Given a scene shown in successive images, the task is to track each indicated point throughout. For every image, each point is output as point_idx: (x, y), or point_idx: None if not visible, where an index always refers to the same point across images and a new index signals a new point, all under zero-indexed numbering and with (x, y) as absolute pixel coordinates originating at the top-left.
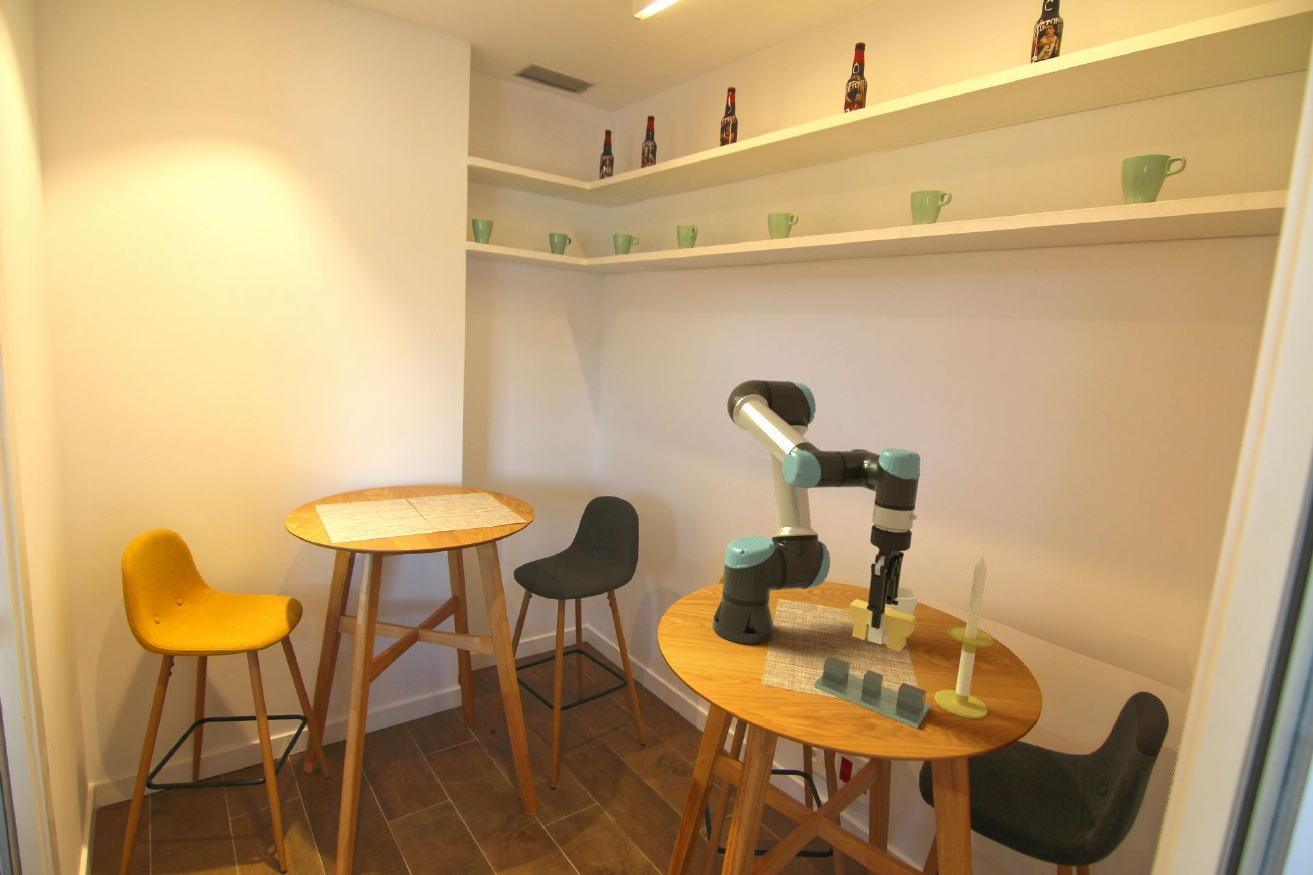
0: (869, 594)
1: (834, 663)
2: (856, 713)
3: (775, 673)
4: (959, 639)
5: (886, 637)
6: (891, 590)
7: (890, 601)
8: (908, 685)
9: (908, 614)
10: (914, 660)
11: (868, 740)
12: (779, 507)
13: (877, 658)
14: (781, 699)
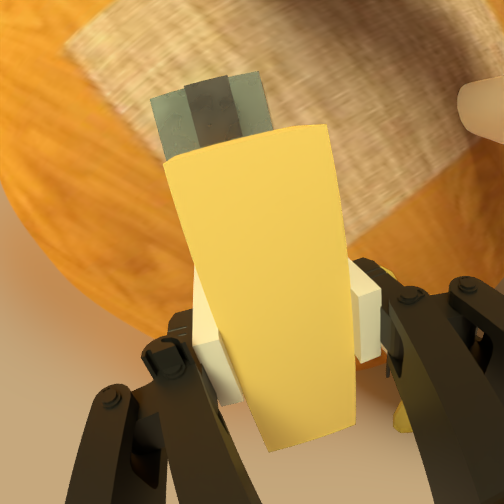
0: (69, 489)
1: (196, 112)
2: (149, 223)
3: (123, 19)
4: (398, 409)
5: (467, 107)
6: (414, 424)
7: (393, 352)
8: None
9: (354, 407)
10: (446, 175)
11: (102, 288)
12: None
13: (402, 117)
14: (51, 108)
